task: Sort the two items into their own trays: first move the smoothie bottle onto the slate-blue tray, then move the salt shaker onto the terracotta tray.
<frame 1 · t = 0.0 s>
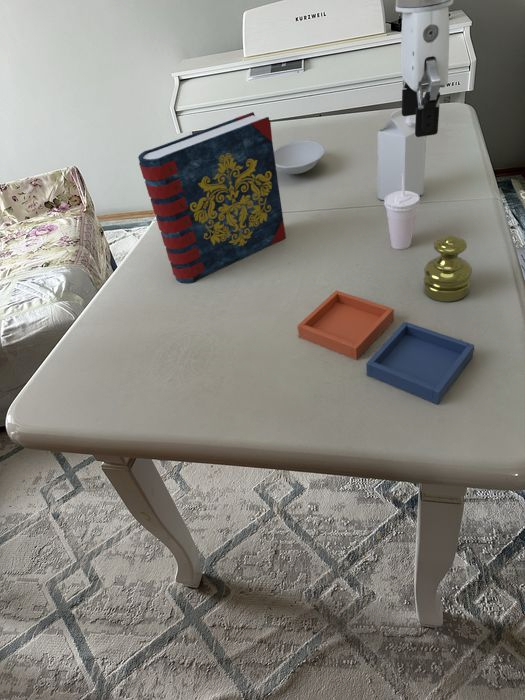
hand: (418, 124, 81), 25 cm above the table, tool pointing down, fingers open, 9 cm apart
milk carton: (400, 197, 116), on the table
book: (229, 257, 108), on the table
salt shaker: (445, 291, 89), on the table
smoothie: (400, 245, 102), on the table
dish: (298, 172, 135), on the table
terracotta tray: (346, 328, 85), on the table
blue tray: (419, 366, 76), on the table
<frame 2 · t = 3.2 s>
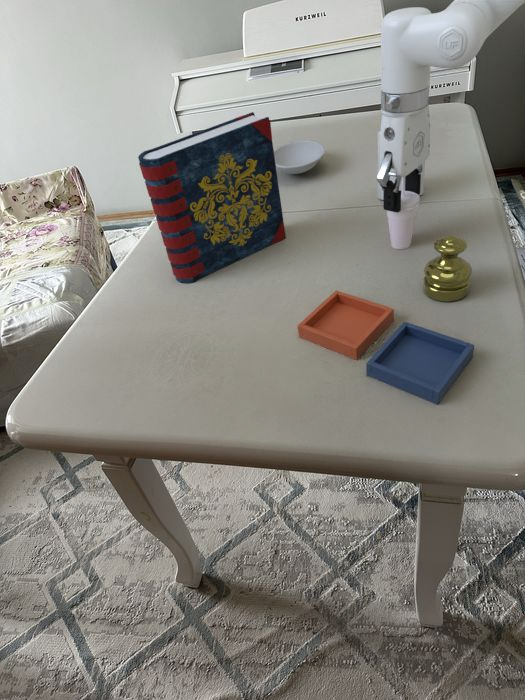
hand: (401, 201, 96), 9 cm above the table, tool pointing down, fingers closed on smoothie, 6 cm apart
smoothie: (400, 245, 101), on the table, touching gripper
everything else where it was.
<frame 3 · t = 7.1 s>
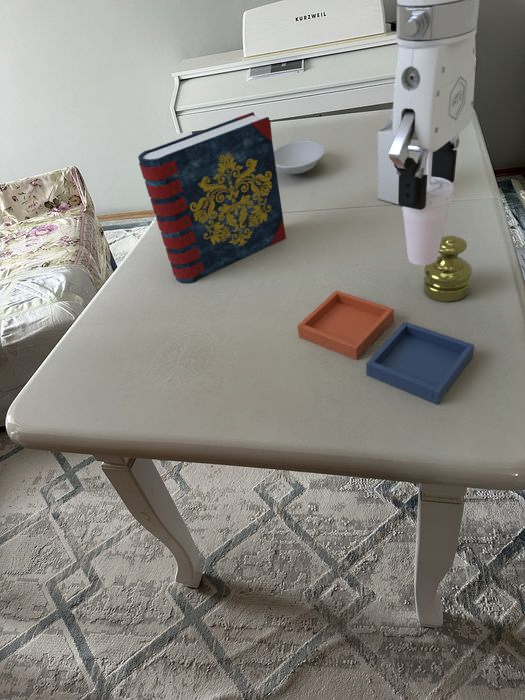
hand: (426, 192, 62), 25 cm above the table, tool pointing down, fingers closed on smoothie, 6 cm apart
smoothie: (422, 259, 68), point 16 cm above the table, touching gripper
everything else where it was.
when the fingers open (10 cm above the table, at t = 11.3 s): smoothie stays where it is, resting on blue tray.
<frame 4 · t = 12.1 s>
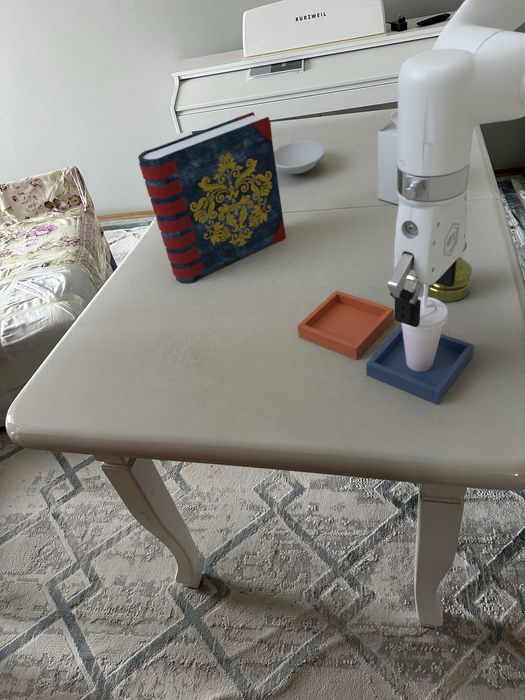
hand: (425, 302, 68), 11 cm above the table, tool pointing down, fingers open, 9 cm apart
smoothie: (419, 363, 76), resting on blue tray
everything else where it was.
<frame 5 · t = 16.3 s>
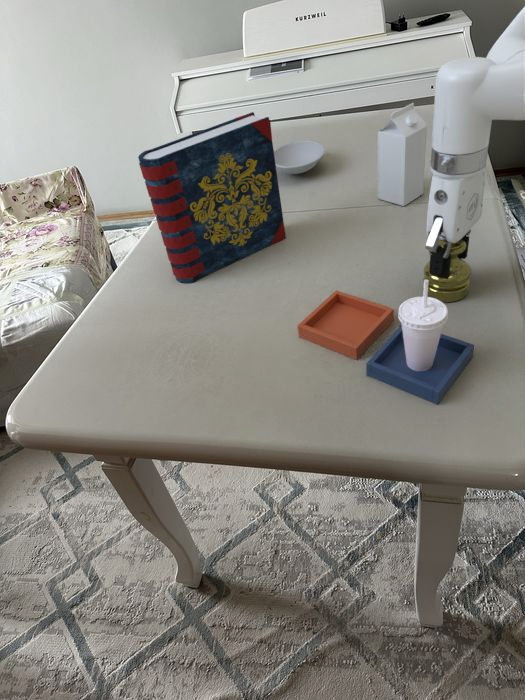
hand: (448, 264, 85), 5 cm above the table, tool pointing down, fingers closed on salt shaker, 5 cm apart
salt shaker: (445, 291, 88), on the table, touching gripper
everything else where it was.
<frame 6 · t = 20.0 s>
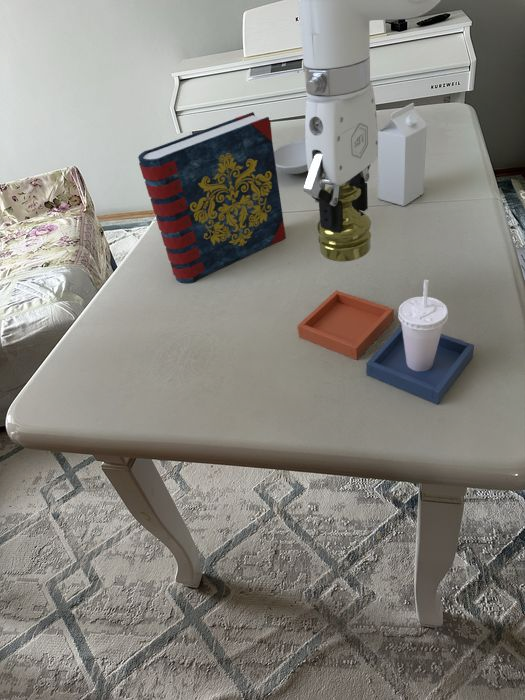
hand: (344, 217, 72), 20 cm above the table, tool pointing down, fingers closed on salt shaker, 5 cm apart
salt shaker: (345, 250, 75), point 15 cm above the table, touching gripper
everything else where it was.
when the fingers open (6 cm above the table, at t = 23.5 s): salt shaker stays where it is, resting on terracotta tray.
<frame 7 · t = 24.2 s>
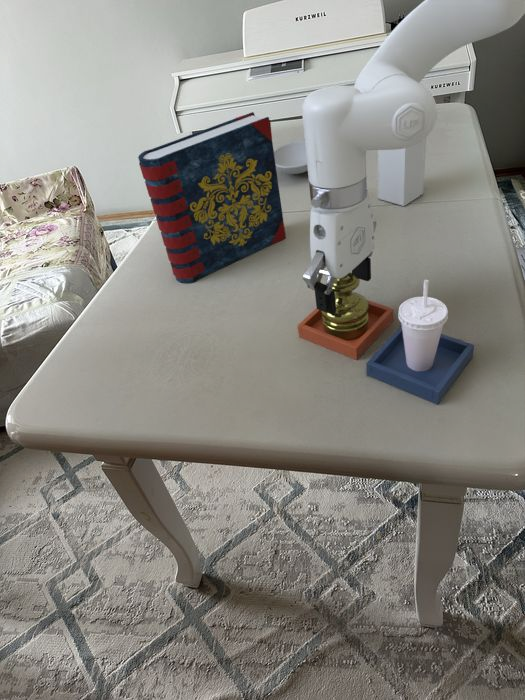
hand: (344, 294, 80), 7 cm above the table, tool pointing down, fingers open, 9 cm apart
salt shaker: (345, 327, 84), resting on terracotta tray
everything else where it was.
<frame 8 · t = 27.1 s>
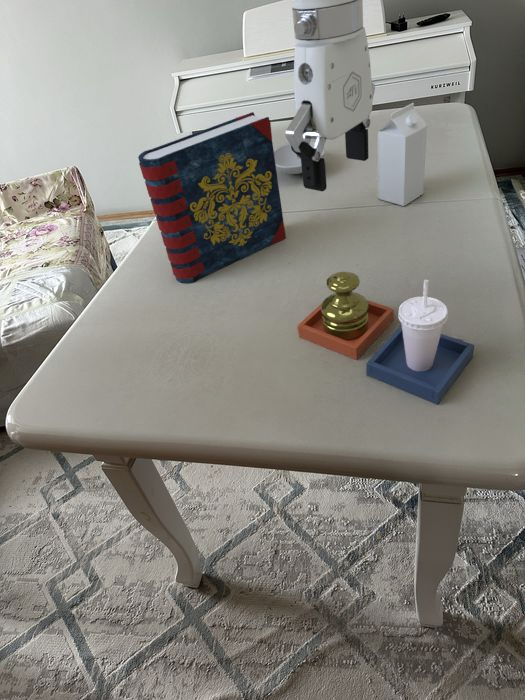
hand: (336, 173, 68), 26 cm above the table, tool pointing down, fingers open, 9 cm apart
nothing on the table moved.
at the end: smoothie 0.1 cm off-centre in the blue tray, point 0.4 cm above the blue tray's base; salt shaker 0.2 cm off-centre in the terracotta tray, point 0.4 cm above the terracotta tray's base; smoothie tilted 0° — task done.
